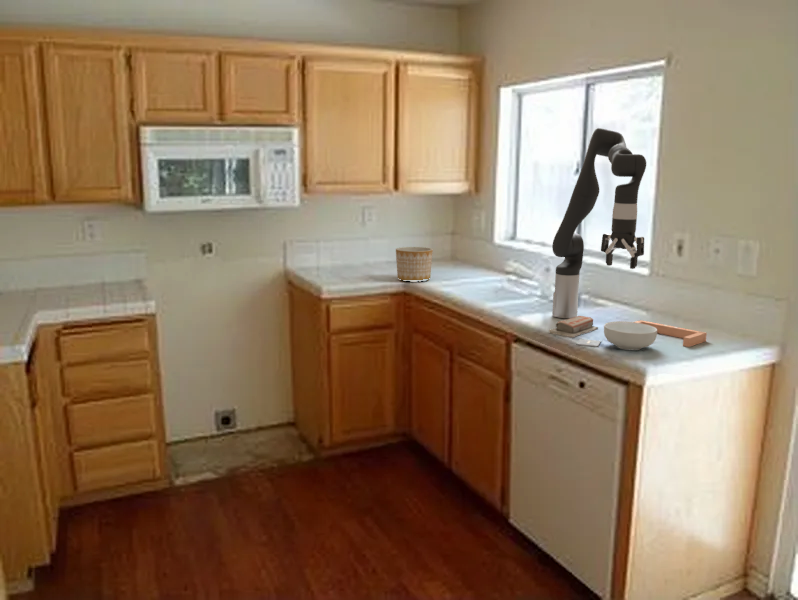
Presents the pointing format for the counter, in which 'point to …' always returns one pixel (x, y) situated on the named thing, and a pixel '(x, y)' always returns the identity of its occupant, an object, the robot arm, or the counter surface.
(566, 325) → the packaged product
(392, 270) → the counter surface
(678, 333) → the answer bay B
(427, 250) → the planter
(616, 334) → the cereal bowl
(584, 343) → the tile
